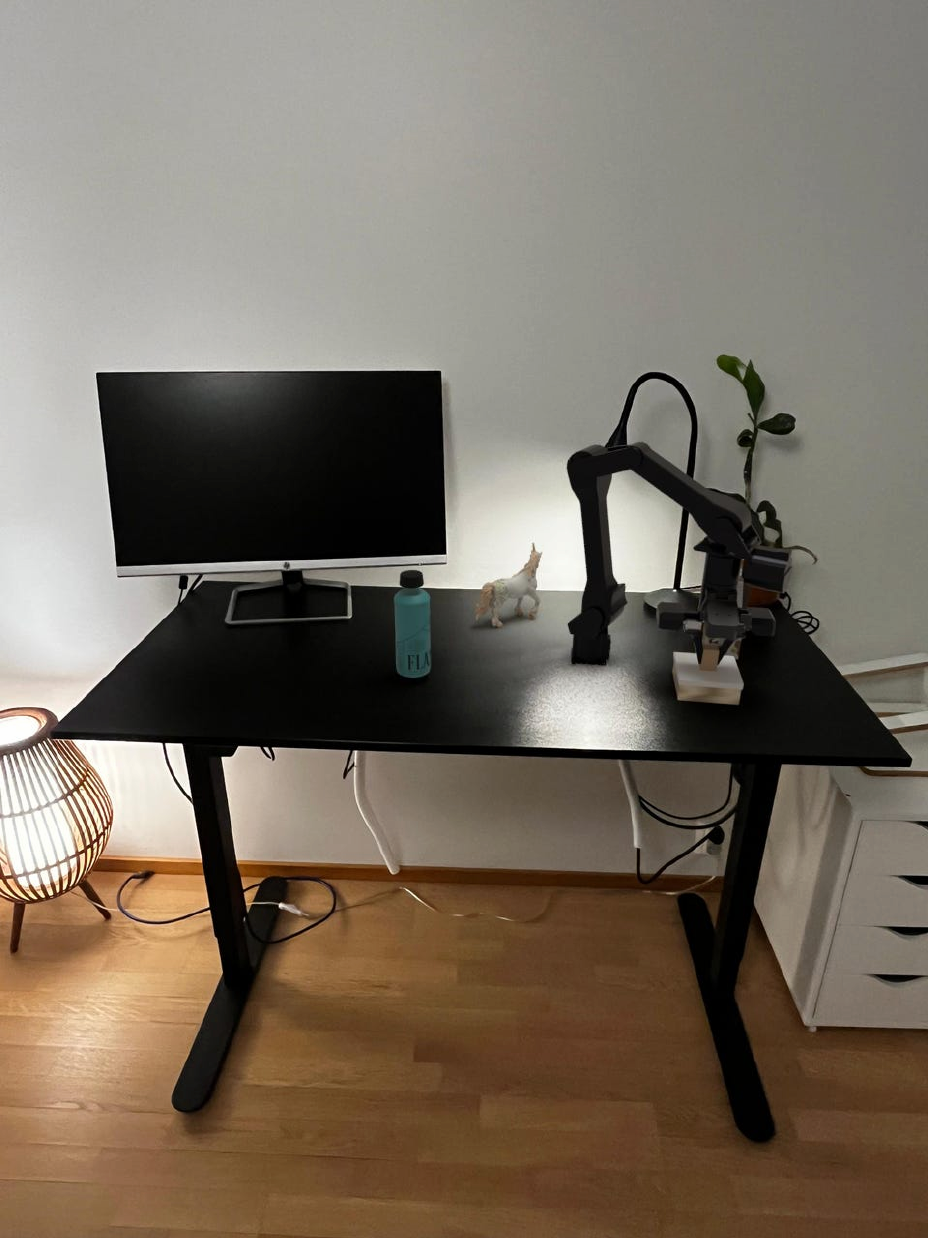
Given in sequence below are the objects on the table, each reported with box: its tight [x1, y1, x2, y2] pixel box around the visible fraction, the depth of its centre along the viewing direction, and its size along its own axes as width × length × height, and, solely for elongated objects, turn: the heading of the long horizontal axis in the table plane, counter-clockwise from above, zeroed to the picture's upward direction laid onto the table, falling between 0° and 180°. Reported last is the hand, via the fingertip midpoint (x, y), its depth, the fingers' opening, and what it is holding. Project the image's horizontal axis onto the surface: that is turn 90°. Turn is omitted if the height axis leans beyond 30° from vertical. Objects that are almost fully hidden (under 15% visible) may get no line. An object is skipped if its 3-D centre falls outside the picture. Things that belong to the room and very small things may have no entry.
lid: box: [672, 642, 745, 691], centre depth 139 cm, size 10×10×5 cm
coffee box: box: [702, 564, 752, 660], centre depth 152 cm, size 9×6×16 cm
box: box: [672, 663, 742, 706], centre depth 140 cm, size 10×10×4 cm
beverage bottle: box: [393, 569, 433, 679], centre depth 141 cm, size 6×7×20 cm
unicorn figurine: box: [474, 542, 543, 629], centre depth 166 cm, size 7×20×13 cm, turn 139°
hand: (707, 663), depth 139 cm, fingers closed on lid, 3 cm apart
